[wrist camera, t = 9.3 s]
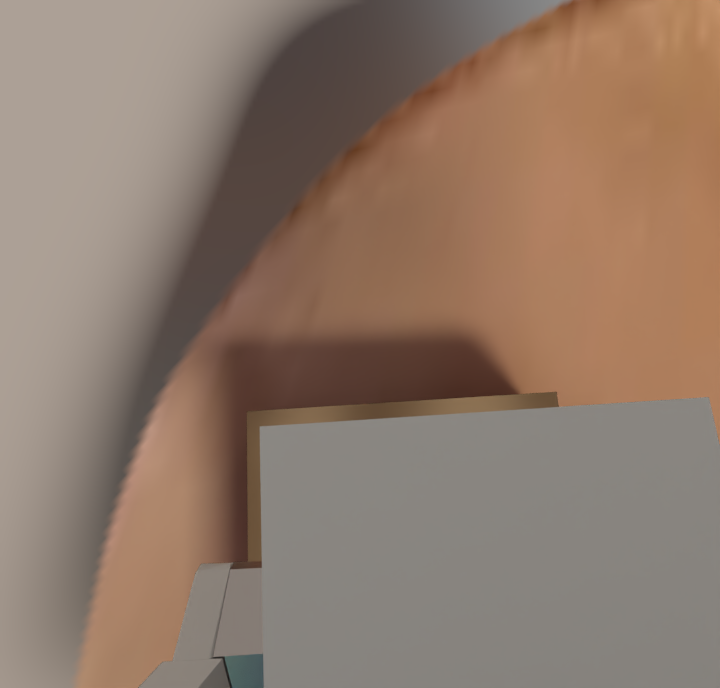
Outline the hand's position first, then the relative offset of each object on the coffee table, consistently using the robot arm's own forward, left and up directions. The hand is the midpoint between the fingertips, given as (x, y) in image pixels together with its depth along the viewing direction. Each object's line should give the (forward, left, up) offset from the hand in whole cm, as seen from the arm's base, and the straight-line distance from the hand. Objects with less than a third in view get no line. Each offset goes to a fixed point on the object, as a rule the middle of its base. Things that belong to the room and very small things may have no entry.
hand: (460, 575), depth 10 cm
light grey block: (0, +1, -4) cm, 4 cm away
